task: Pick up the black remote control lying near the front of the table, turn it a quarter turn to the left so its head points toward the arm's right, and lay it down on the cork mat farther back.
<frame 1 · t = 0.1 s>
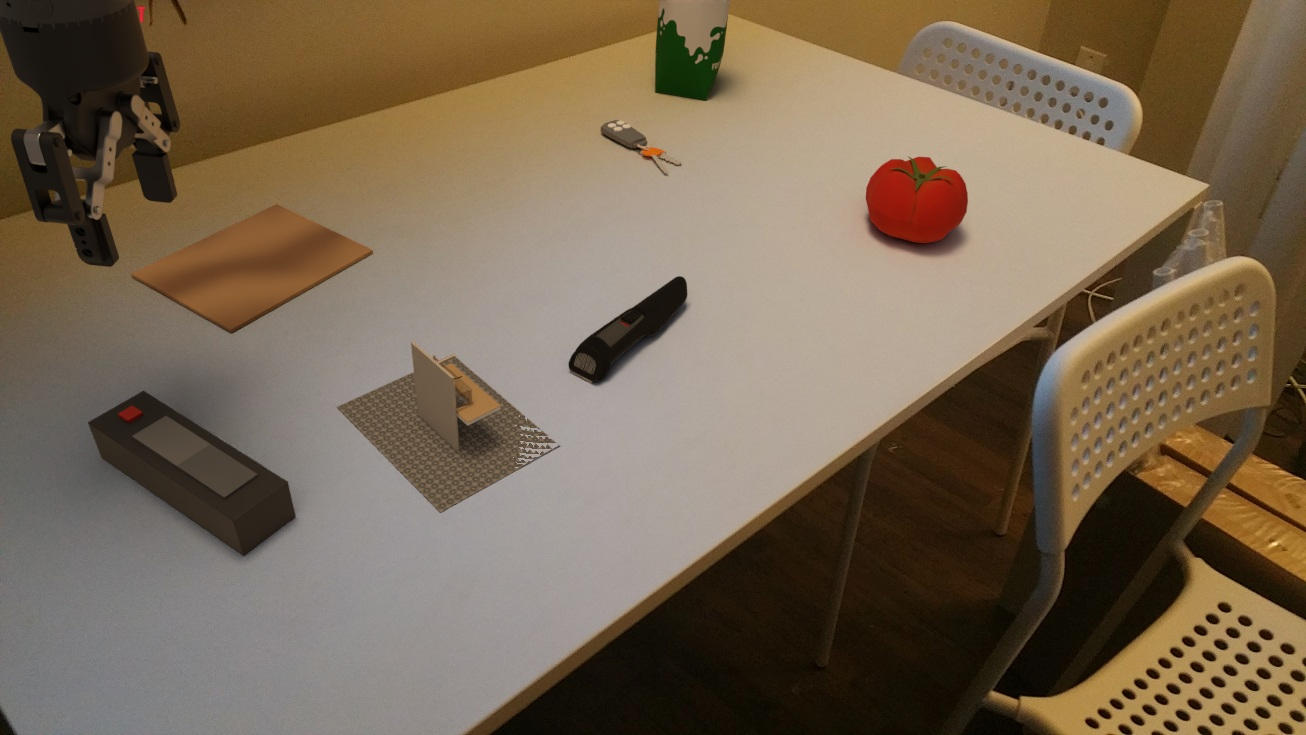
hand: (133, 230, 69), 17 cm above the table, tool pointing down, fingers open, 8 cm apart
milk carton: (685, 88, 136), on the table
cork mat: (256, 264, 95), on the table
electric trimmer: (629, 339, 91), on the table
remote: (128, 440, 76), on the table
tomato: (906, 230, 110), on the table
architectural model: (447, 428, 80), on the table
key chain: (641, 152, 120), on the table
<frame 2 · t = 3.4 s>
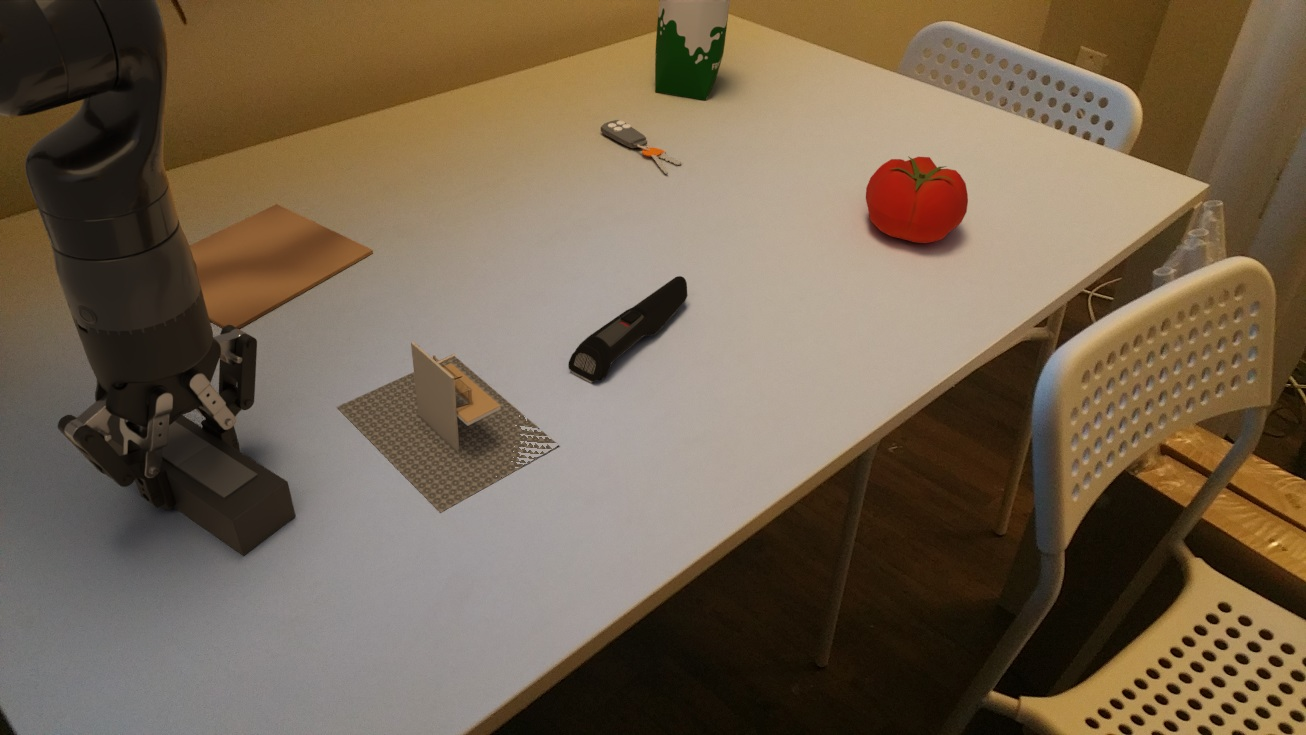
hand: (194, 481, 72), 1 cm above the table, tool pointing down, fingers closed on remote, 4 cm apart
remote: (128, 440, 76), on the table, touching gripper
everything else where it was.
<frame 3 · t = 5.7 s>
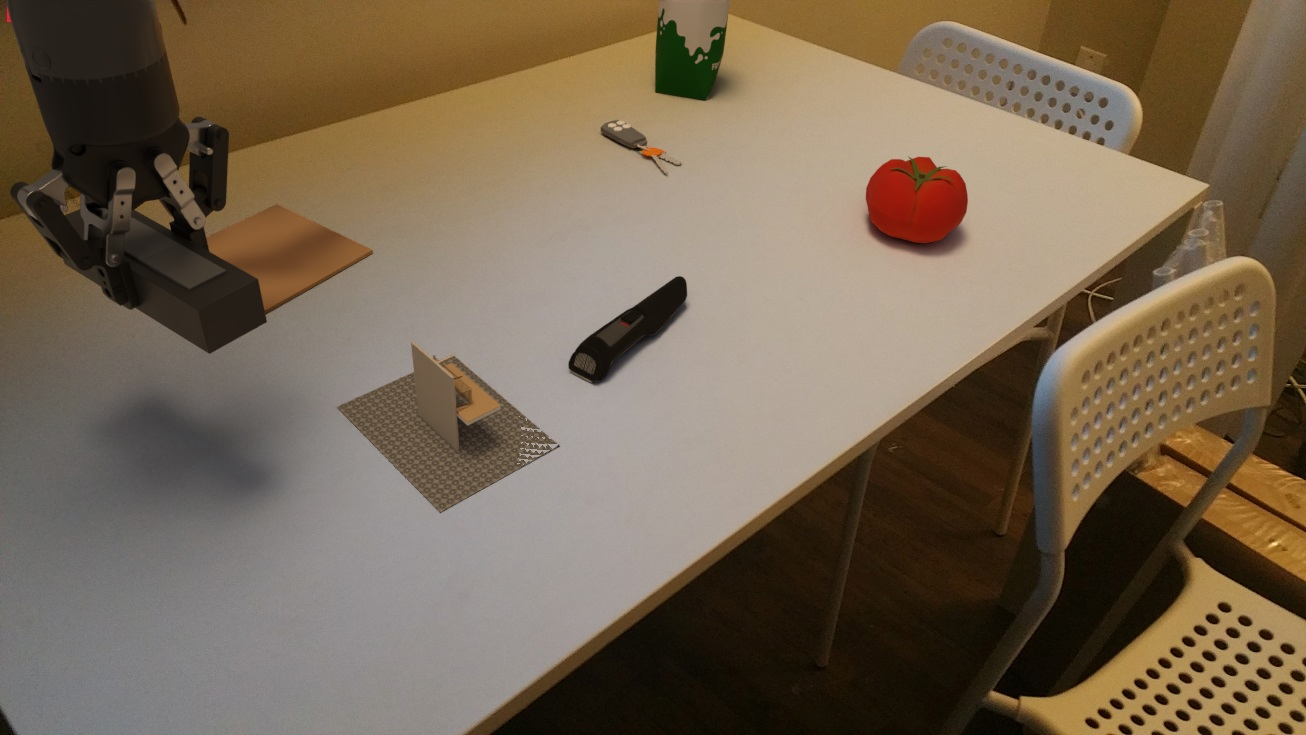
hand: (161, 286, 69), 14 cm above the table, tool pointing down, fingers closed on remote, 4 cm apart
remote: (94, 251, 72), point 13 cm above the table, touching gripper
everything else where it was.
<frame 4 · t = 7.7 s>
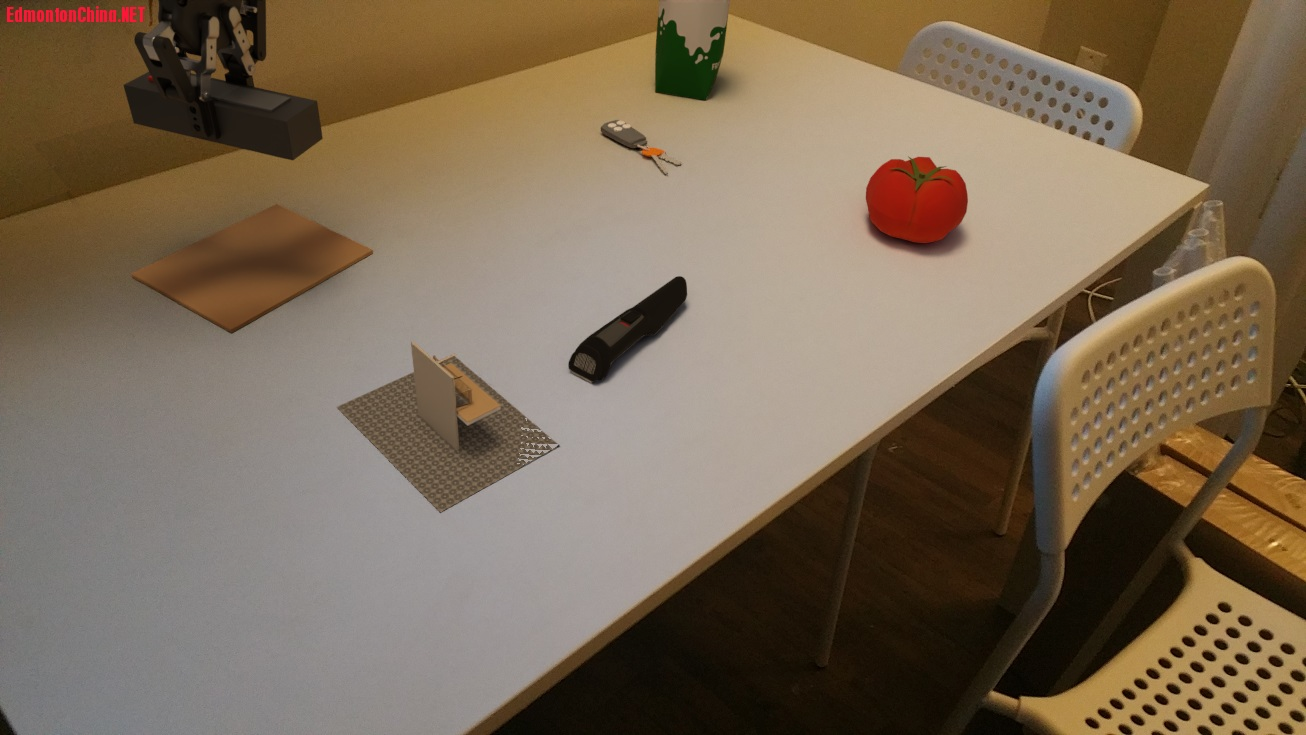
hand: (227, 125, 87), 14 cm above the table, tool pointing down, fingers closed on remote, 4 cm apart
remote: (151, 113, 89), point 14 cm above the table, touching gripper
everything else where it was.
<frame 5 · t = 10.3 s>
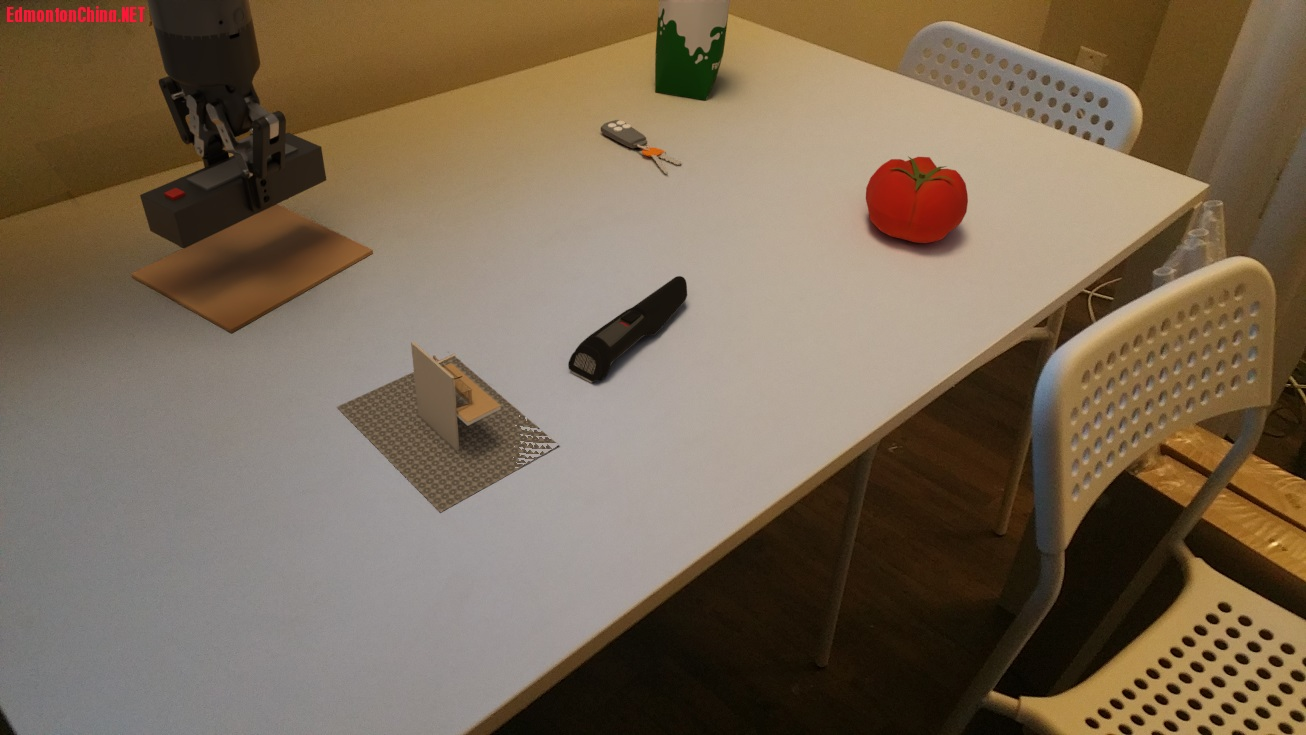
hand: (242, 199, 91), 7 cm above the table, tool pointing down, fingers closed on remote, 4 cm apart
remote: (166, 239, 86), point 7 cm above the table, touching gripper
everything else where it was.
when the fingers open (1 cm above the table, at t = 12.3 s): remote stays where it is, resting on cork mat.
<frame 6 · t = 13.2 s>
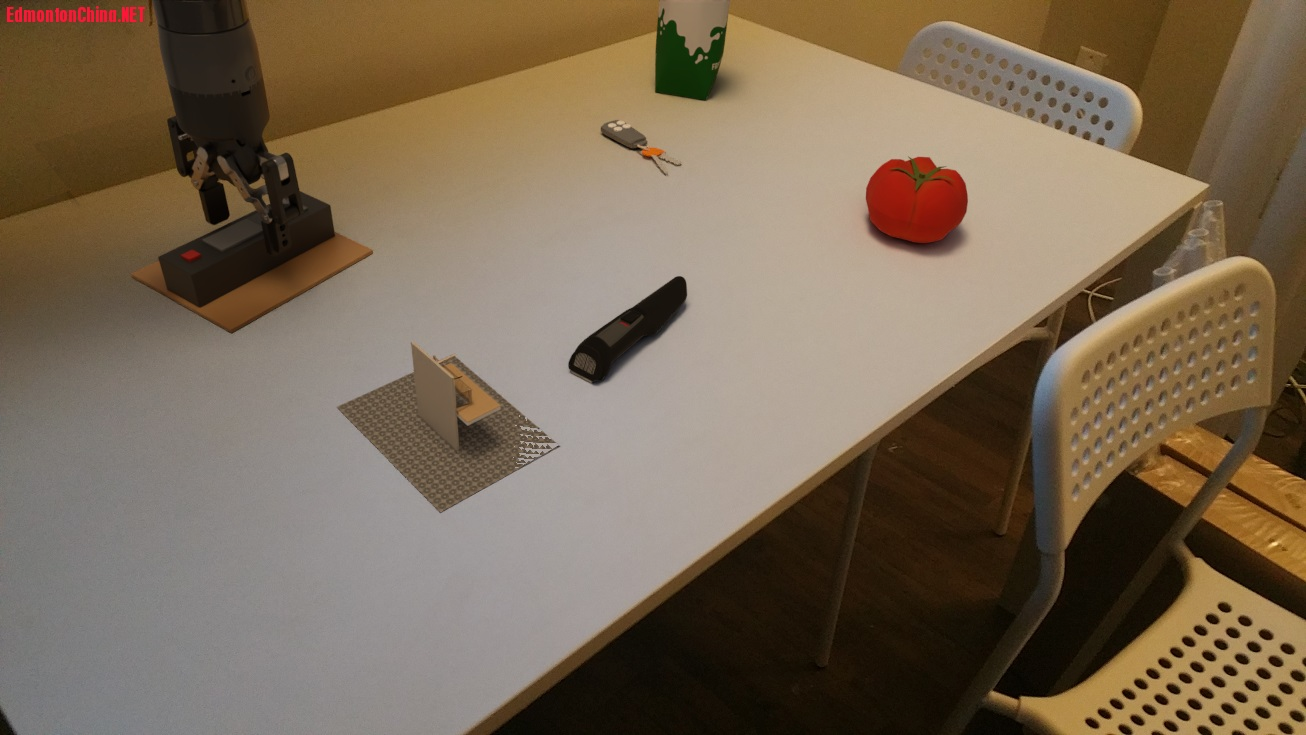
hand: (248, 236, 93), 3 cm above the table, tool pointing down, fingers open, 8 cm apart
remote: (183, 298, 90), resting on cork mat
everything else where it was.
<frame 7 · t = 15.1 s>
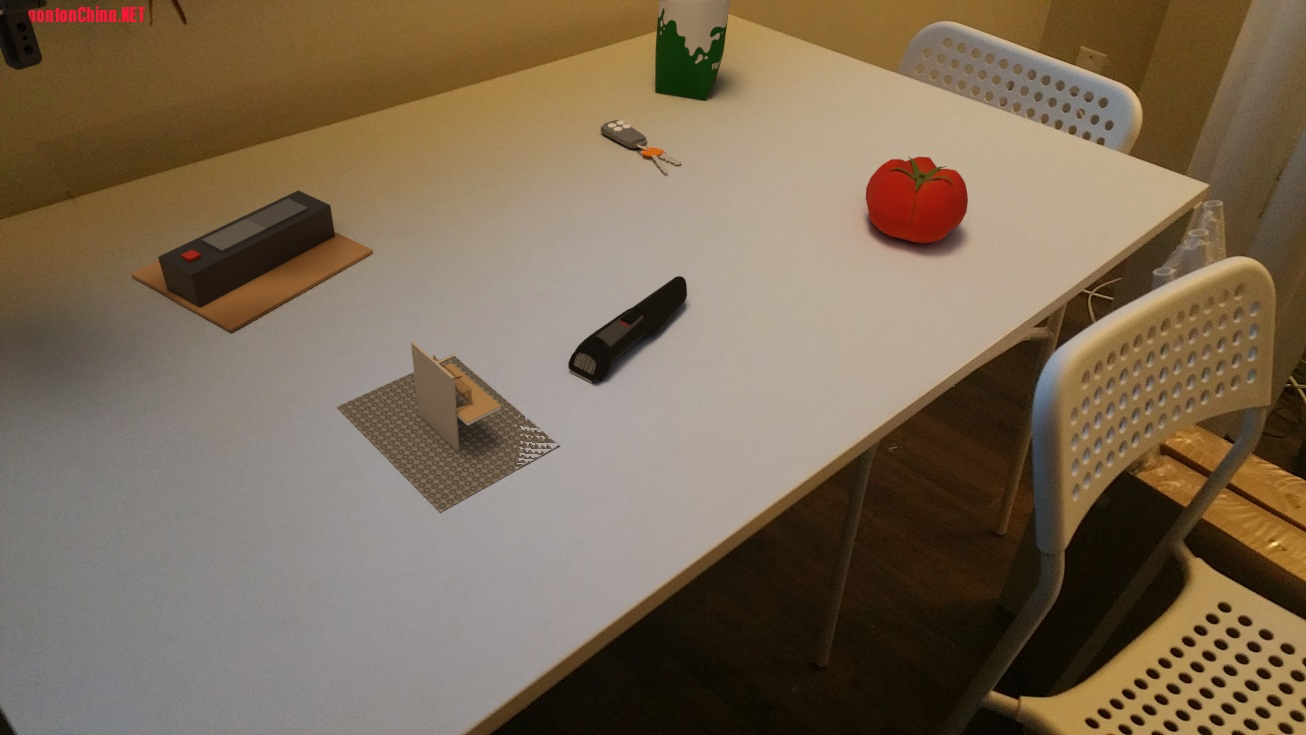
nothing on the table moved.
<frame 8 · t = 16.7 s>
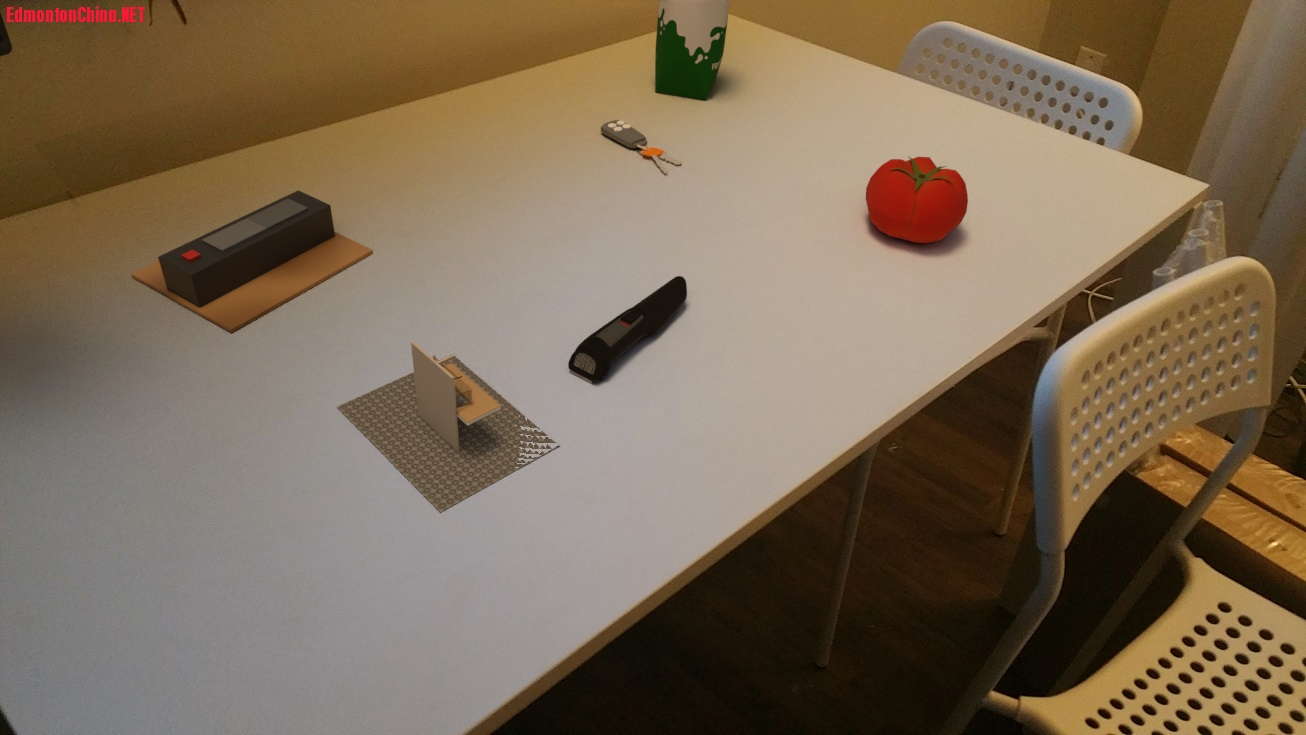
nothing on the table moved.
at the end: remote 0.1 cm from the target spot on the cork mat, point 0.4 cm above the cork mat's base; remote tilted 0°; the gripper is holding nothing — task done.
